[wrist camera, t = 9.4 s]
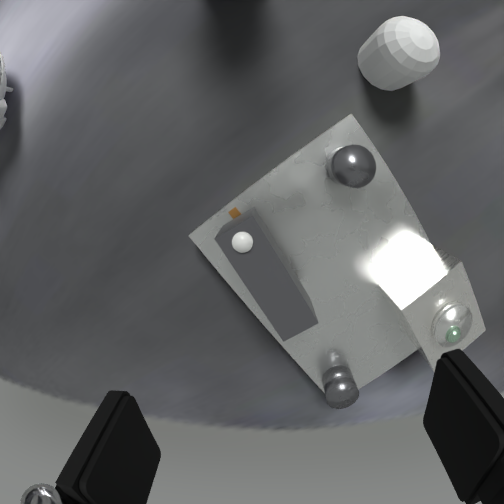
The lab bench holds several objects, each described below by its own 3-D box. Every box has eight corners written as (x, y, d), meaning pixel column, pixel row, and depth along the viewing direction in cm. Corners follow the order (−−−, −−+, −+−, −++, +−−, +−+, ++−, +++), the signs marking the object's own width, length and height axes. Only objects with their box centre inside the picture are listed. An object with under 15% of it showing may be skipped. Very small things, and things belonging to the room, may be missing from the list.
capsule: (410, 50, 22) (451, 22, 15) (407, 98, 24) (452, 80, 16) (359, 33, 22) (389, -5, 15) (354, 81, 24) (387, 54, 16)
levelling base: (341, 118, 25) (382, 97, 15) (447, 302, 29) (497, 346, 20) (195, 228, 28) (164, 260, 18) (329, 386, 32) (346, 450, 23)
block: (306, 289, 25) (319, 324, 19) (278, 304, 26) (283, 343, 20) (254, 203, 23) (252, 215, 18) (225, 221, 24) (213, 239, 18)
